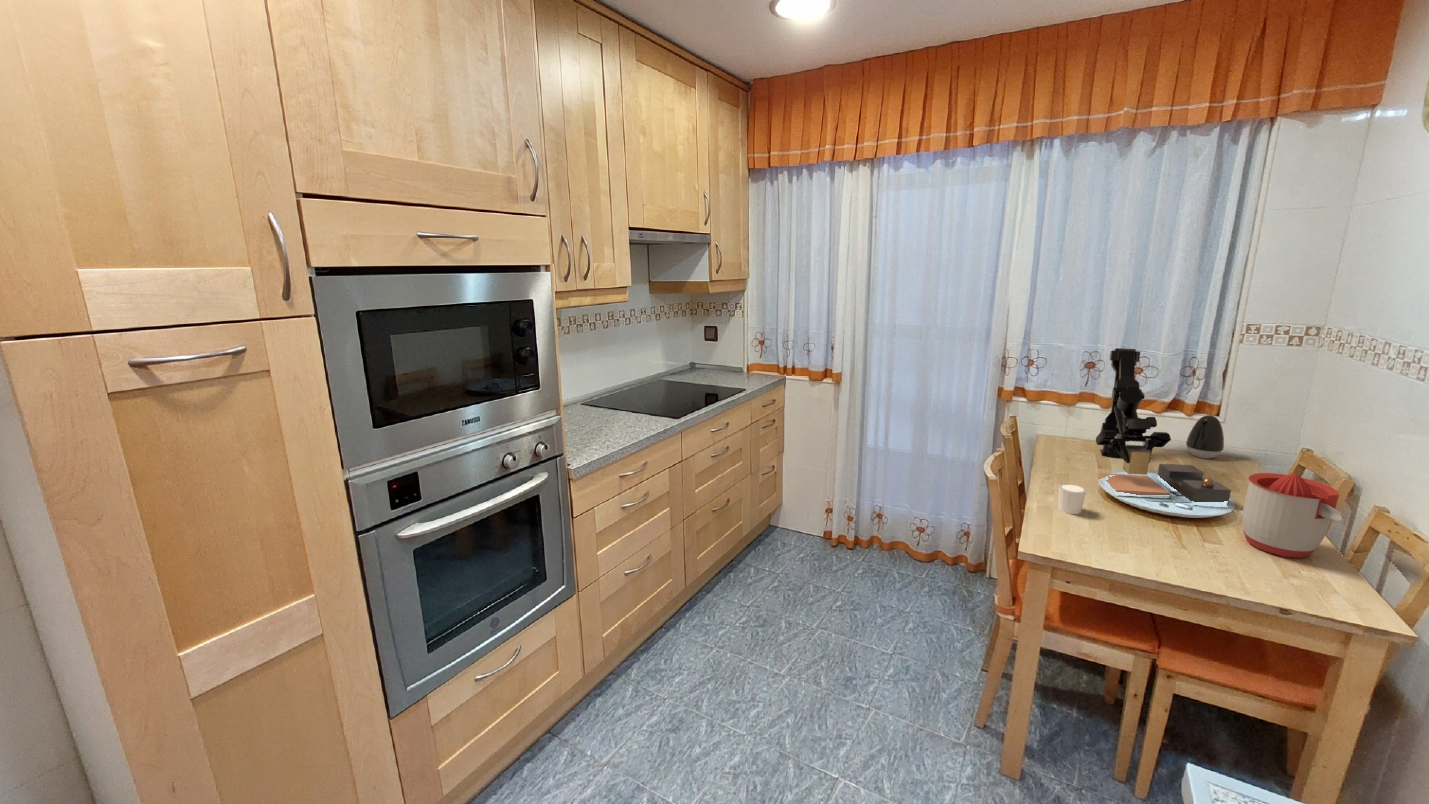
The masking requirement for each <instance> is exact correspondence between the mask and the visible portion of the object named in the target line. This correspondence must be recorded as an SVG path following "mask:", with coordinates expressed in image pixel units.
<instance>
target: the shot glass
mask: <svg viewBox="0 0 1429 804" xmlns="http://www.w3.org/2000/svg"><path fill="white" fill-rule="evenodd" d="M1086 493H1087V489H1086V488H1085V487H1083V486H1081V485H1078V484H1073V483H1062V484H1059V486H1058V510H1059V511H1060V510H1061V512H1062V511H1063V513H1065V514H1068V513H1069V515H1080V514H1081V513H1082V510H1083V505H1084V502H1085V498H1086ZM1079 513H1080V514H1079Z"/></svg>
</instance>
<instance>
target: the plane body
mask: <svg viewBox="0 0 1429 804" xmlns="http://www.w3.org/2000/svg"><path fill="white" fill-rule="evenodd" d="M1157 475H1159V476H1160V478H1162V479H1163V480H1164V481H1166V482H1167V483H1168V484H1169V485H1170V486H1171V487H1173V488H1174V489H1176V490H1177V491H1178V492H1180V493H1181V494H1182V495H1184V496H1185V497H1186V498H1188V499H1189V500H1190V501H1194V502H1224V501H1228V503H1229V501H1230V497H1231V492H1232V489H1230V488H1229V487H1227V486H1225V485H1224V484H1223V483H1220V482H1219V481H1215V480H1214V479H1213V478H1211V477H1204V472H1203V471H1202V470H1200V469H1199V468H1197V467H1196V466H1194V465H1192V464H1173V463H1159V465H1158V469H1157Z"/></svg>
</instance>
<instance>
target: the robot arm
mask: <svg viewBox="0 0 1429 804" xmlns="http://www.w3.org/2000/svg"><path fill="white" fill-rule="evenodd" d="M1140 358H1141V351H1138V350H1137V349H1135V348H1119V347H1118V348H1117V347H1116V348H1114V350H1111V351H1110V354H1109V361H1110V362H1111V364H1110V365H1111V368H1112V370H1113V371H1114V383H1113V384H1114V385H1113V387H1112V393H1111V398H1112V400H1111V401H1112V402H1111V408H1110V409H1111V410H1110V413H1109V414H1108V415H1107V416H1106V418H1104V422H1102V424H1101V427H1100V432H1099V433H1098V435H1096V437H1095V443H1096V445H1097V446H1102V449H1100V450H1099V451H1100V454H1101V456H1103V457H1109V458H1110V457H1111V458H1117V459H1118V458H1120V459H1122V460H1123V462H1124V461H1125V462H1126V463H1129V462H1130V461H1129V455H1128V452H1127V449H1126V445H1127V443H1128V442H1137V443H1138V442H1140V443H1142V446H1145V447H1147V448H1148V449H1150V450H1151V453H1150V459H1149V464H1150V462H1151V458H1152V452H1153V449H1154V448H1164V447H1165V446H1166V445H1167V444H1168V443H1170V441H1171V440H1172V438H1171V435H1170V434H1169V433H1168V432H1166V431H1153V433H1151V434H1150V435H1143V434H1146V433H1147V430H1151V429H1152V428H1157V426H1158V421H1157V419H1156V417H1155V416H1147V417H1145V418H1141V417H1139V415H1138V412H1137V410H1138V409H1139V407H1140V404H1141V402H1142V401H1143V400H1145V394H1144V392H1143V390H1142V389H1141V387H1140V382H1139V381H1138V380H1137V379H1136V376H1135V375H1136V374H1135V372H1136V371H1135V369H1136V366H1137V363H1139V362H1140V360H1141V359H1140Z"/></svg>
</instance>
